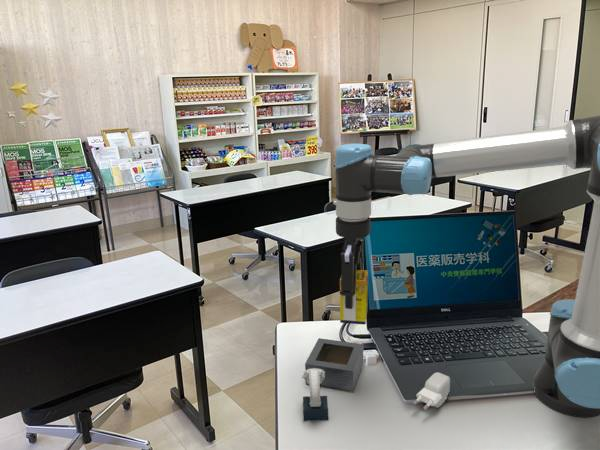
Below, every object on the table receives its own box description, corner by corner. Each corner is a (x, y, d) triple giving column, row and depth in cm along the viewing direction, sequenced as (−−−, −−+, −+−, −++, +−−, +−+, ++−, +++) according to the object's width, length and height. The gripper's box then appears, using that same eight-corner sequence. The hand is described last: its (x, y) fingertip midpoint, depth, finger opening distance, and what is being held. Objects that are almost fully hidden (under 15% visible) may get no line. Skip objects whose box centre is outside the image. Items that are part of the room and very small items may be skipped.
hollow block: (363, 364, 124) (363, 344, 122) (353, 392, 114) (353, 371, 112) (319, 357, 128) (318, 338, 126) (306, 384, 117) (305, 363, 115)
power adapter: (428, 424, 102) (429, 401, 101) (408, 414, 106) (409, 392, 104) (452, 398, 110) (453, 376, 108) (433, 389, 113) (434, 368, 112)
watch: (326, 401, 111) (325, 361, 108) (328, 425, 103) (327, 383, 100) (303, 402, 111) (301, 361, 108) (303, 426, 103) (301, 384, 100)
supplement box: (366, 325, 106) (366, 280, 103) (339, 323, 107) (339, 279, 104) (367, 312, 112) (368, 269, 108) (342, 310, 113) (342, 268, 110)
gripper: (345, 203, 112) (345, 292, 119) (325, 229, 95) (326, 331, 102) (377, 205, 110) (375, 295, 117) (362, 232, 92) (361, 335, 99)
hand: (352, 311), depth 109 cm, fingers closed on supplement box, 6 cm apart
